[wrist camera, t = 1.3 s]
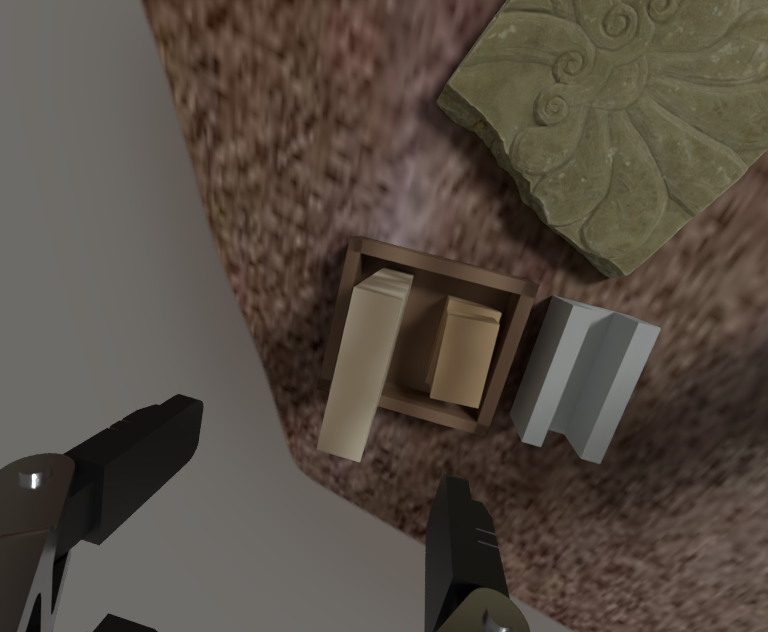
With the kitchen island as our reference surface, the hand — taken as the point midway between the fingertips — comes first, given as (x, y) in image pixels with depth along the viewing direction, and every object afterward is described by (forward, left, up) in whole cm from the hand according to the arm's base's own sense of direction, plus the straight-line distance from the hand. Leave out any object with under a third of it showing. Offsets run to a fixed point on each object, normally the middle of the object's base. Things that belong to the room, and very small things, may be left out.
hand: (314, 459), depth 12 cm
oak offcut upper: (-6, 0, -18) cm, 19 cm away
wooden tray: (-3, 0, -21) cm, 21 cm away
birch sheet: (0, 0, -20) cm, 20 cm away
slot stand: (-16, 0, -21) cm, 26 cm away
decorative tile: (-12, -20, -22) cm, 32 cm away
